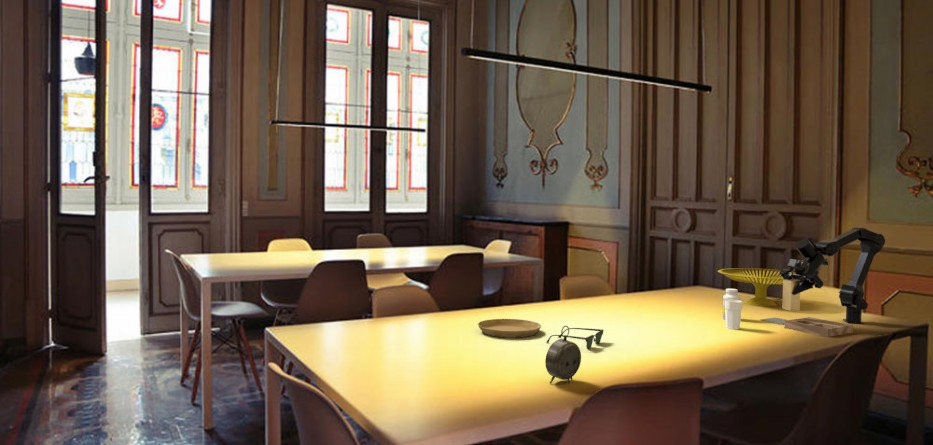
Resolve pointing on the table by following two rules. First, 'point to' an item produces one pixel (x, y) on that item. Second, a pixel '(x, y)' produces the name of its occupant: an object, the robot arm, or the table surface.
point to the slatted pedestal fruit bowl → (756, 283)
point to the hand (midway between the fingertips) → (788, 293)
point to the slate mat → (775, 320)
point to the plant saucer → (509, 327)
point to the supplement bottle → (729, 297)
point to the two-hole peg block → (819, 326)
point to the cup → (733, 313)
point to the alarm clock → (563, 359)
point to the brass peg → (790, 295)
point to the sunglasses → (588, 339)
